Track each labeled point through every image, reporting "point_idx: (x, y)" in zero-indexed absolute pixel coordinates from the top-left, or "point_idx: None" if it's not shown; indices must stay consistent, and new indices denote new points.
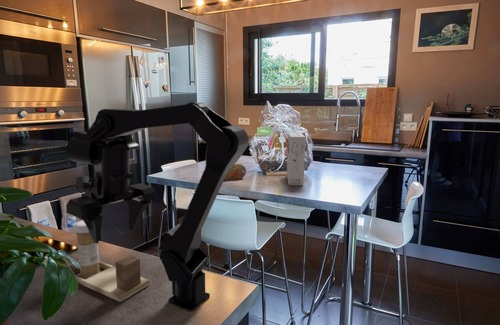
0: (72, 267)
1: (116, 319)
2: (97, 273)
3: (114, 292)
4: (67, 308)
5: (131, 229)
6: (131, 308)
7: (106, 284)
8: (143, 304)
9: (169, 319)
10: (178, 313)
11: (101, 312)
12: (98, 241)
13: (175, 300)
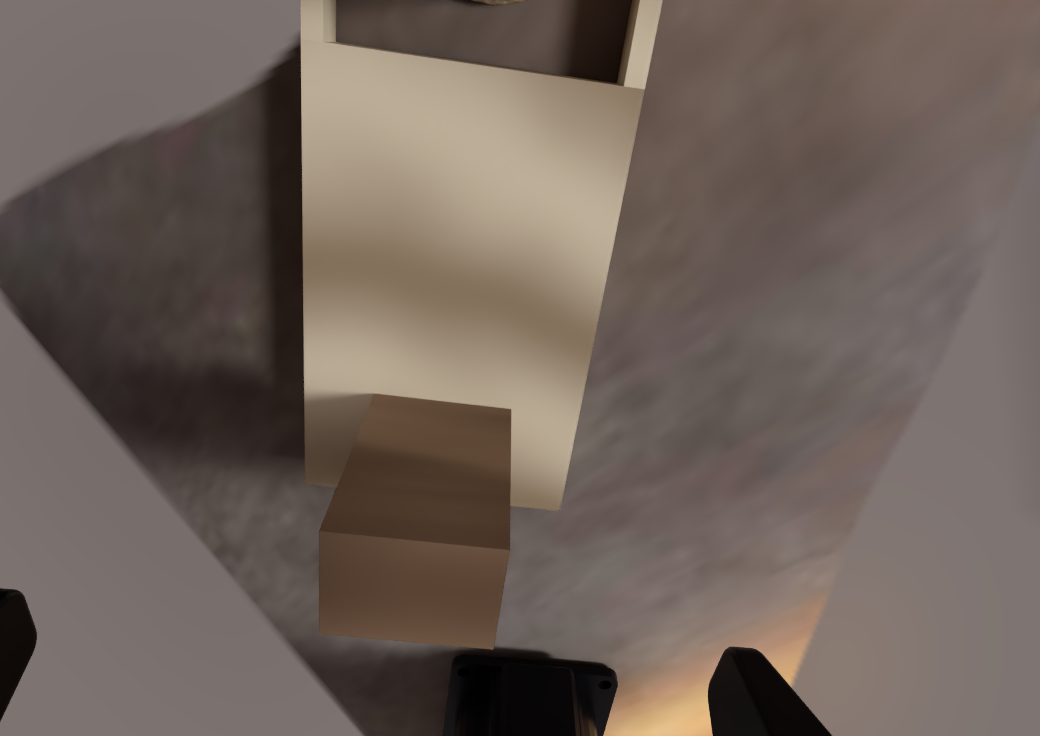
0: None
1: (204, 533)
2: (507, 2)
3: (323, 418)
4: (67, 195)
5: (711, 693)
6: (317, 537)
7: (366, 291)
8: None
9: (351, 712)
10: (407, 720)
11: (191, 426)
12: (5, 688)
13: (467, 692)
